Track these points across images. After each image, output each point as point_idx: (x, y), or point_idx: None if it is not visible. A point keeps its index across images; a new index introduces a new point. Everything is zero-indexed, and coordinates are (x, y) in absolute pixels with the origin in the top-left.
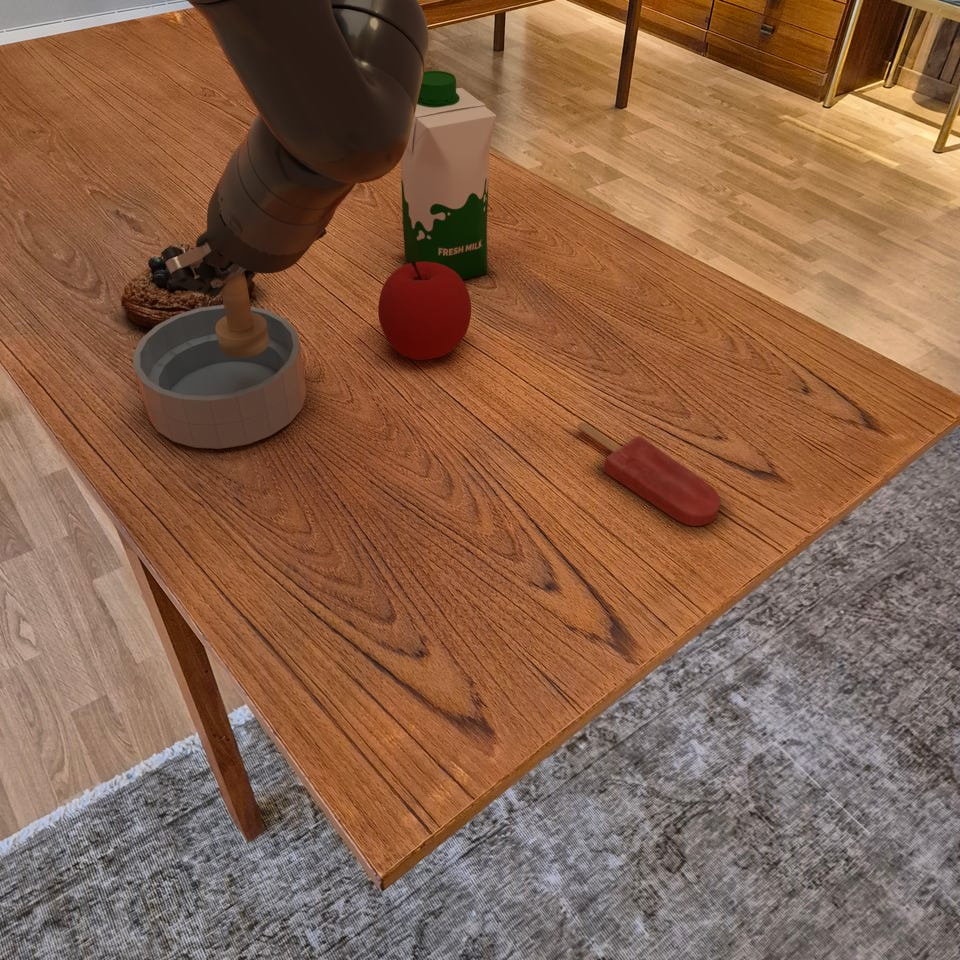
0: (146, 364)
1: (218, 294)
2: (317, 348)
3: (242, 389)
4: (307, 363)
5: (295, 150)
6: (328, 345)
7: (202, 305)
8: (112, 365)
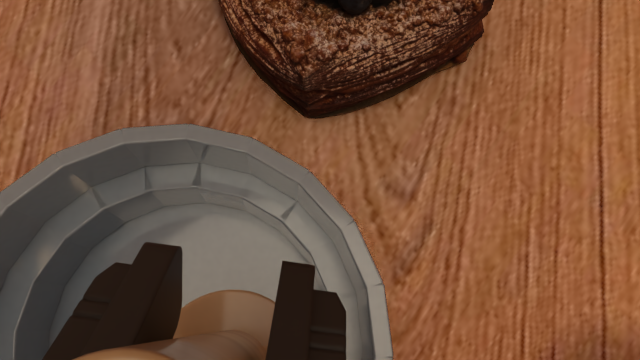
0: (44, 207)
1: (173, 333)
2: (457, 310)
3: None
4: (407, 342)
5: None
6: (483, 319)
7: (313, 72)
8: (110, 60)
